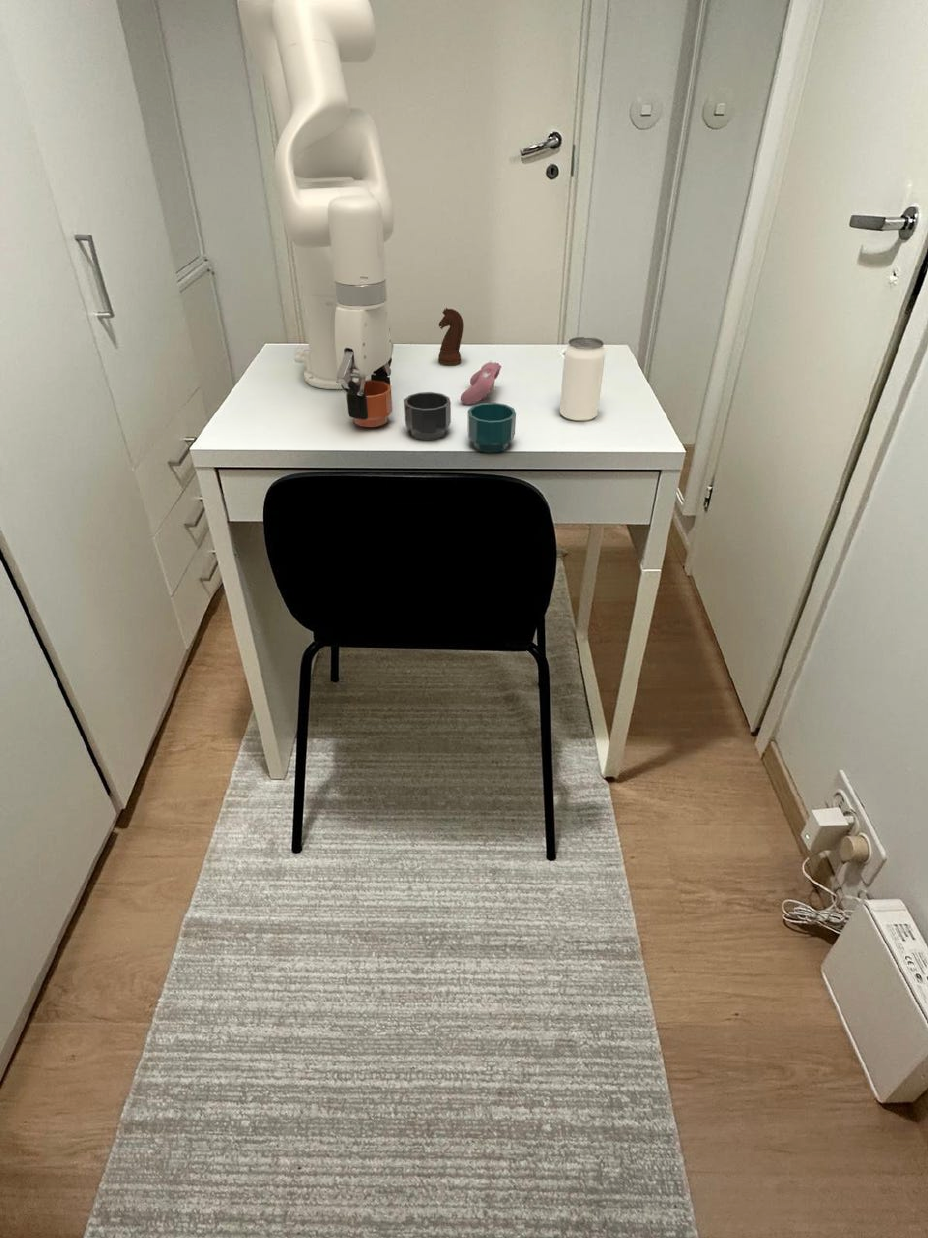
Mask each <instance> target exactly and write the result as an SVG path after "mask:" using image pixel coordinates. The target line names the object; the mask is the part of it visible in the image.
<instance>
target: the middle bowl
mask: <svg viewBox="0 0 928 1238" xmlns="http://www.w3.org/2000/svg"><path fill="white" fill-rule="evenodd" d="M355 383H356V385H357V386H358V382H355ZM363 394H366V399H367V410H368V418H367V419H366V420H364V419H358V418H353V421H354V424H355V425H357V426H359V427H362V428H363V427H364V428H376V427H380V426H383V425H385V424H386V423H387V422H388V416H390V415H391V414H392V413H393V397H392V386H391V384H390V385H389V384H387V383H385V382H382V381H375V380H371V379H370V380H368V381H365V386H364V392H363ZM345 399H346V401H347V394H345ZM346 408H347V409H346V410H348V403H347V402H346ZM347 414H348V415H349V413H348V412H347Z"/></svg>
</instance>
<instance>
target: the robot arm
mask: <svg viewBox="0 0 928 1238" xmlns="http://www.w3.org/2000/svg"><path fill="white" fill-rule="evenodd" d="M236 3H237V8H238V14H239V19H240V22H241V26H242V30H243V33H244V36H245V39H246V41H247V44H248V46H249V49H250V51H251V53H252V55H253V57H254V60H255V62H256V65H257V66H258V68H259V70H260V72H261V74H262V77H263V78H264V81H265V84H266V85H267V88H268V92H269V96H270V103H271V106H272V112H273V115H274V120H275V125H276V130H277V135H278V139H279V140H278V142H277V146H276V149H275V153H274V154H275V155H274V162H273V163H274V165H273V173H274V183H275V189H276V194H277V198H278V204H279V208H280V212H281V216H282V222H283V226H284V228H285V232H286V234H287V237H288V238H289V240H290V241H291V243H292V244H293V247H294V250H295V255H296V260H297V265H298V274H299V279H300V287H301V294H302V301H303V302H302V303H303V309H304V317H305V318H304V319H305V326H306V334H307V335H306V336H307V341H308V348H309V349H307V348H301V347H298V348H296V349H295V353H294V354H295V355H294V357H293V361H294V363H297V364H304V365H305V366H306V367H305V368H306V369H305V370H304V371H303V378H304V381H305V382H306V383H307V384H308V385H310V386H312V387H316V388H320V389H323V390H326V389H327V390H343V392H344V394H345V395H346V394H347V400H346V404H347V403H348V409H347V414H348V413H349V414H348V417H350V418H351V419H352V418H353V419H354V418H358V419H364V420H366V419H367V418H368V410H367V399H366V394H363V392H364V386H365V381H368V380H375V381H382V382H385V383H387V384H389V385H391V375H392V369H391V365H392V362H393V358H392V356H393V353H394V352H393V351H394V343H393V342H392V335H391V326H390V318H389V311H388V306H387V304H388V294H387V275H386V258H385V243H386V242H387V241H389V240H390V239H391V237H392V236H393V233H394V229H395V213H394V206H393V201H392V195H391V189H390V185H389V180H388V174H387V170H386V164H385V159H384V158H385V157H384V153H383V148H382V142H381V138H380V135H379V131H378V127H377V125H376V122H375V120H374V118H373V117H372V116H371V114H370V113H368V112H367V111H366V110H364V109H362V108H358V107H357V108H356V107H351V106H350V101H349V95H348V91H347V90H348V89H347V85H346V80H345V76H344V75H345V74H344V70H343V65H342V63H364V62H367V61H370V60H371V58H372V57H373V56H374V53H375V50H376V45H377V27H376V26H377V25H376V20H375V16H374V12H373V8H372V5H371V1H370V0H236ZM296 177H297V178H301V179H332V178H333V179H334V178H336V179H337V178H352V180H351V179H350V180H324V181H309V182H305V183H301V184H298V183H297V180H296ZM355 382H358V386H357V385H356V383H355Z"/></svg>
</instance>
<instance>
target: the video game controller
mask: <svg viewBox="0 0 928 1238" xmlns="http://www.w3.org/2000/svg"><path fill="white" fill-rule="evenodd" d="M501 369H502V365H501V364H499V363H498V362H497V361H494V362H493V361H492V360H491V359H490V360H489V362H487V363H484V364H483V365H482V367H481V368H480V370H478V371H476V372H475V373H473V375H472V376H471V377H470V378H469V383H470V385H471V386H470V387H468V388H467V389H466V390H465V391H464V392H462V394H461V396H460V402H461V403H462V404H463V405H473V404H475V403H478V402H479V401H484V400H485V399H486V397H487V395H488V394H489V393H490V392H491V393H494V392H495V390H496V387H497V386H496V385H495V380H497V378H498V376H499V375H500V371H501Z"/></svg>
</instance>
